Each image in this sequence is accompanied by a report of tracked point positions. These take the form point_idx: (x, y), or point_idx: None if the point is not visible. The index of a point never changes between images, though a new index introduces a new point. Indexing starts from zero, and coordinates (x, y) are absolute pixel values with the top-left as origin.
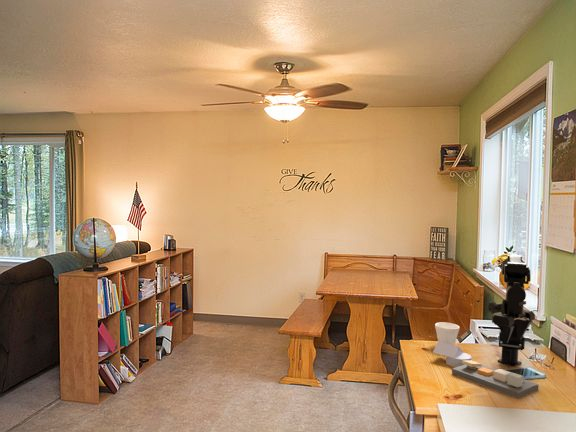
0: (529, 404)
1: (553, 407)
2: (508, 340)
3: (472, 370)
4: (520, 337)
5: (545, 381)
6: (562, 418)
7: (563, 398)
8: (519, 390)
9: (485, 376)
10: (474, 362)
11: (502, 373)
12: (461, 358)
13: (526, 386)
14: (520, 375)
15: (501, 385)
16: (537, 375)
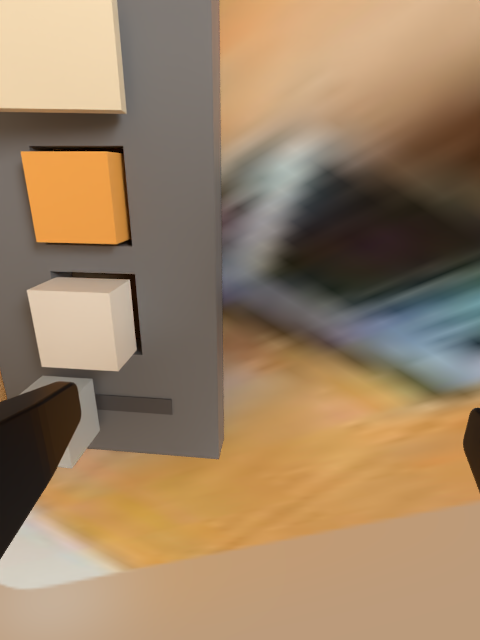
0: None
1: (102, 527)
2: (46, 467)
3: None
4: (474, 469)
5: (385, 419)
6: (46, 565)
7: (229, 527)
8: None
9: (30, 232)
10: (62, 64)
11: (45, 347)
12: None
13: (126, 436)
14: (65, 457)
15: (11, 358)
16: (457, 358)
